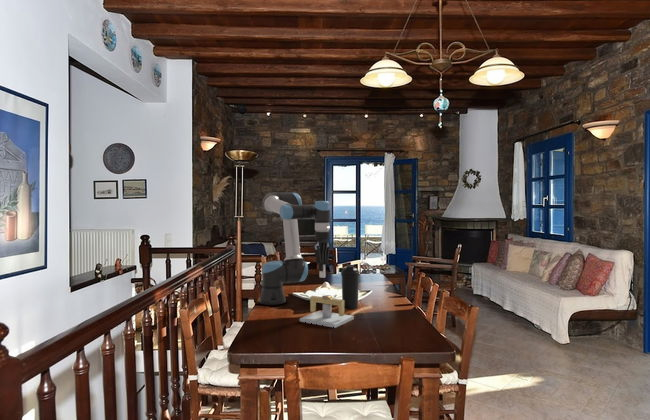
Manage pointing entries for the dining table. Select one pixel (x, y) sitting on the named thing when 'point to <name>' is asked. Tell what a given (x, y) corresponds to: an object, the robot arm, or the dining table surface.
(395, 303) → the dining table surface
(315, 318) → the base
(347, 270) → the water bottle
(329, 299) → the yellow u-shaped block
